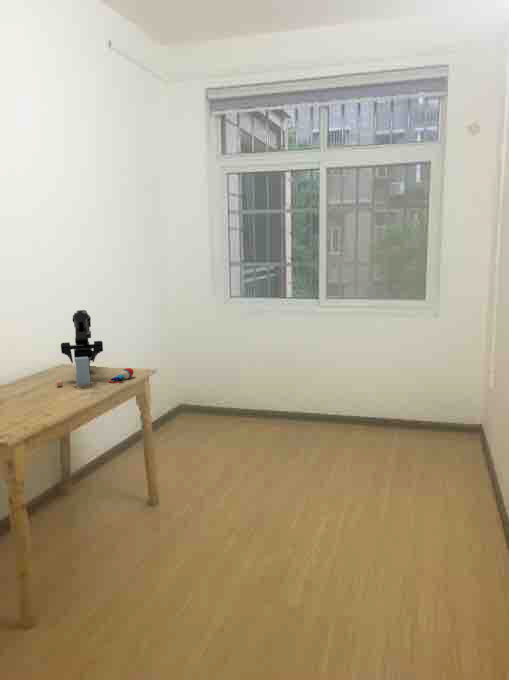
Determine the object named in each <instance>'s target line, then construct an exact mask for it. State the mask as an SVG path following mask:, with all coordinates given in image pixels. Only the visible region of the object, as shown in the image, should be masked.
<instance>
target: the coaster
mask: <svg viewBox="0 0 509 680" xmlns="http://www.w3.org/2000/svg"><path fill="white" fill-rule="evenodd" d="M93 384H94V382H93V381H90V385H79V386H77V384H76V382H74V383H73V384H72V386H74V388H77V387H84V388H89V386H90V387H93V386H94V385H93ZM92 385H93V386H92Z"/></svg>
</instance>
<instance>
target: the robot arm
mask: <svg viewBox="0 0 509 680" xmlns="http://www.w3.org/2000/svg"><path fill="white" fill-rule="evenodd" d="M88 313H89V312H87V310H86V309H81V310H80V309H79V310H76V312H74V314H73V315H72V323H73V326H74V328H75V332H74V333H75V337H74V342H75V344H71V342H61V344H60V350H61V354H63V355H64V356H67V357H68V359H69V360H70V362H71V364H73V363H74V362H73V356H74V358H75V357H88V358H89V373H90V374H91V372H93V369H91V362H92V363H94V362H95V360H96V357H97V356H98V354H100V353H102V352H103V351H104V347H103V345H104V343H103V341H102V340H96V341H95V340H94V341H93V344H91V343H90V341H89V339H91V338H92V330H90V328H91V327H92V326H91V322H92V321H91V319H92V318H91V316H90V314H88ZM72 350H73V355H72Z"/></svg>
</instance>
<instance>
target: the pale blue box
mask: <svg viewBox="0 0 509 680" xmlns="http://www.w3.org/2000/svg"><path fill="white" fill-rule="evenodd" d="M74 365H75V383H76V384H77V386H79V385H90V382H91V378H90V374H91V372H90V373H89V358H88V357H74Z"/></svg>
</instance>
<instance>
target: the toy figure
mask: <svg viewBox="0 0 509 680" xmlns="http://www.w3.org/2000/svg"><path fill="white" fill-rule="evenodd" d="M133 375H134V369H133V368H130V367H127V368H124V369H123V370H121V371H120V372H119V374H117V376H114V377H112V378H110V380H108V381H107V383H108V382H111V383H110V384H114V383H119V384H121V383H120V382H124V380H129V379H130V378H132V376H133ZM128 378H129V379H128Z"/></svg>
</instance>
